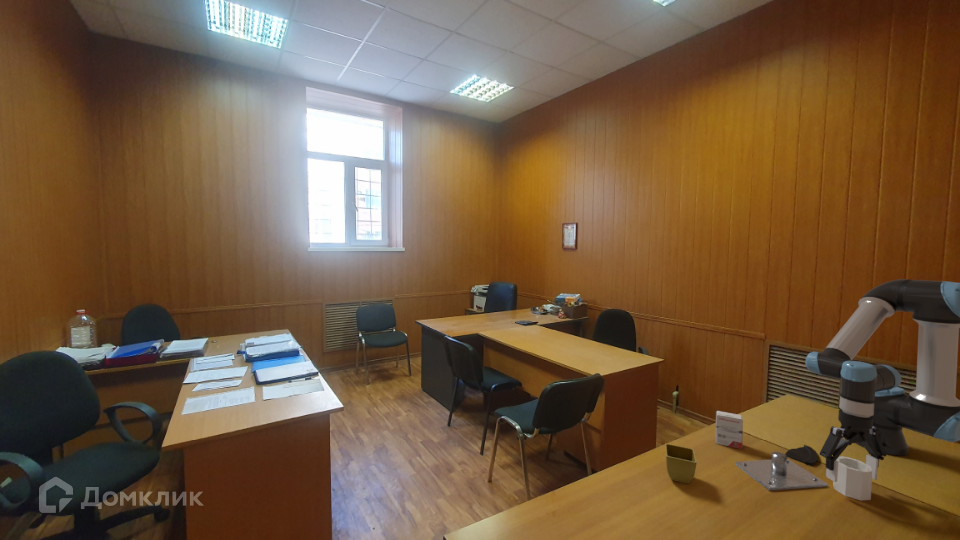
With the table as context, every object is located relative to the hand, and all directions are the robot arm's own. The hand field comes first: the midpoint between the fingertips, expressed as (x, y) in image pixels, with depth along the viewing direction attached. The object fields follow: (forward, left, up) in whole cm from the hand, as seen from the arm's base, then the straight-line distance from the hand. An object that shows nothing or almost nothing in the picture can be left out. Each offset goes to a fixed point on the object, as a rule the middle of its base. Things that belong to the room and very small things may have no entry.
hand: (851, 478), depth 115 cm
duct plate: (+15, -10, -4) cm, 18 cm away
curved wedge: (-4, -19, -5) cm, 20 cm away
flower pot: (+49, -12, -5) cm, 50 cm away
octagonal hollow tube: (0, 0, -4) cm, 4 cm away
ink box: (+17, -30, -5) cm, 35 cm away
